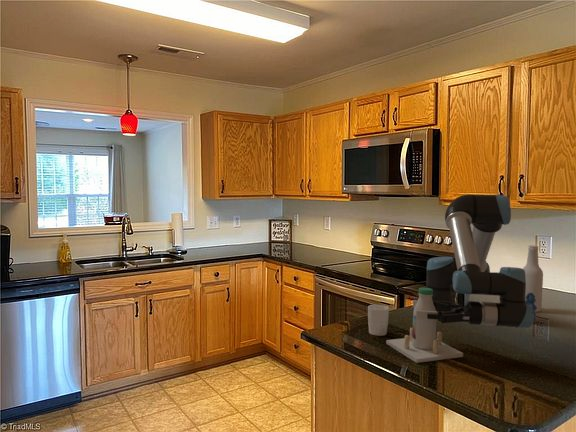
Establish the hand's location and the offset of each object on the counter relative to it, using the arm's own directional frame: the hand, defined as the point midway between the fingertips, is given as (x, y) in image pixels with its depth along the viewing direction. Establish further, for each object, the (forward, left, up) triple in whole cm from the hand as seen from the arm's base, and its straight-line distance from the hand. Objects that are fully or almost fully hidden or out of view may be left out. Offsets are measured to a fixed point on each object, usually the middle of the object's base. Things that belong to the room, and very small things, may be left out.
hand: (414, 309), depth 147 cm
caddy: (+2, +3, -14) cm, 14 cm away
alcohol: (-27, +83, -14) cm, 88 cm away
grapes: (-14, +67, -14) cm, 70 cm away
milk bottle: (+1, +3, -13) cm, 13 cm away
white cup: (-18, -3, -14) cm, 23 cm away
